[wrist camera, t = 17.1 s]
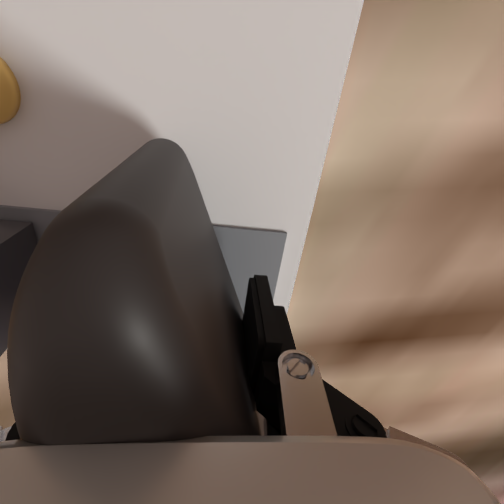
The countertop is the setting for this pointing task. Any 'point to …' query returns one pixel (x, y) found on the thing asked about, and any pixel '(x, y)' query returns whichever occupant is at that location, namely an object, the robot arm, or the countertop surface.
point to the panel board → (178, 110)
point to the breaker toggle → (12, 267)
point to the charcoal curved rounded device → (130, 317)
